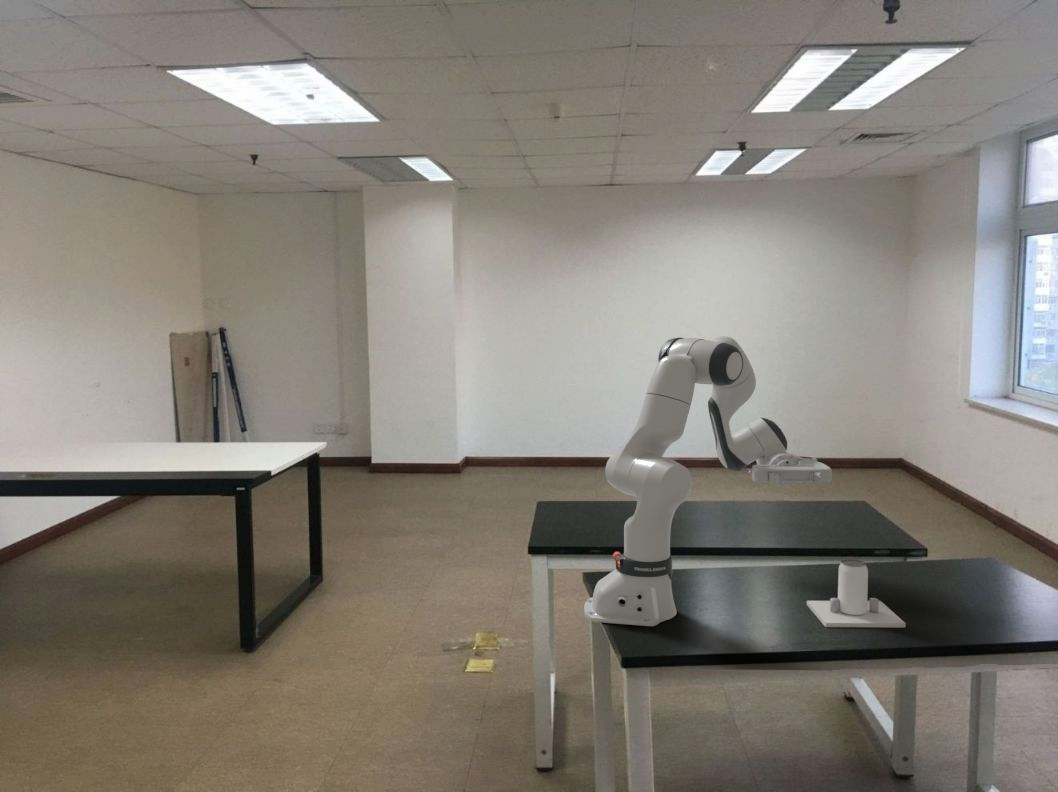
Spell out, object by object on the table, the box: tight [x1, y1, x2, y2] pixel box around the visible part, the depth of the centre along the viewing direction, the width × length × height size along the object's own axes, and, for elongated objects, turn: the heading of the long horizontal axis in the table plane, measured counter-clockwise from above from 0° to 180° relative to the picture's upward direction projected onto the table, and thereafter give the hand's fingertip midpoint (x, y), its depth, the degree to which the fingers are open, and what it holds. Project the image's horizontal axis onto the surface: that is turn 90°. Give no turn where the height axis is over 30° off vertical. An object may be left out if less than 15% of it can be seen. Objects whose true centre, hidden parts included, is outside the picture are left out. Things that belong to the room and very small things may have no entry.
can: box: [837, 558, 869, 616], centre depth 182 cm, size 6×6×12 cm
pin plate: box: [806, 597, 906, 628], centre depth 182 cm, size 18×14×4 cm
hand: (799, 479), depth 195 cm, fingers open, 8 cm apart
